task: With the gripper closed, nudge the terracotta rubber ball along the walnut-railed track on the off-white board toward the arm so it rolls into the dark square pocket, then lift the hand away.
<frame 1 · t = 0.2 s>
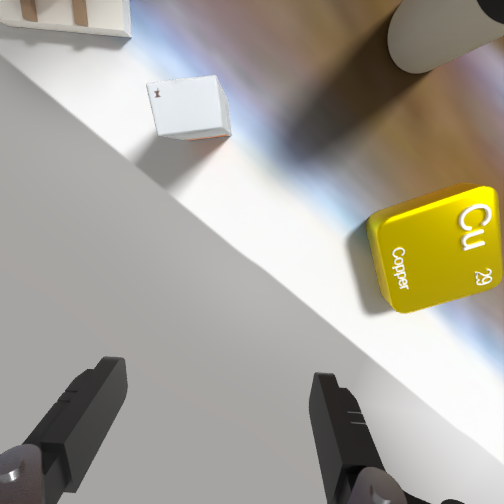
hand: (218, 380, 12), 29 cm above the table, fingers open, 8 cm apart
travel mug: (420, 34, 31), on the table
element tile: (422, 245, 40), on the table
skincare box: (208, 121, 35), on the table
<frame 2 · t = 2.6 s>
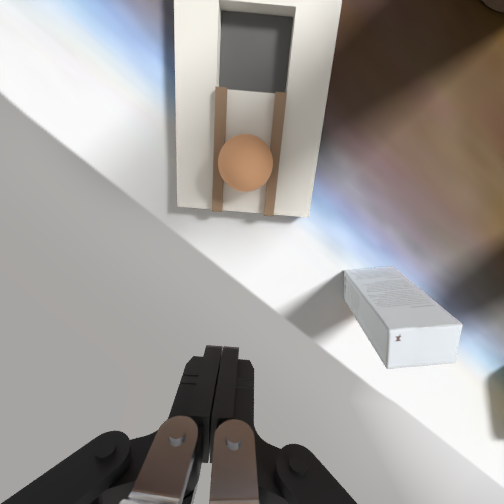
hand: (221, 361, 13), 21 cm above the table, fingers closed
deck: (250, 109, 27), on the table
skincare box: (367, 281, 34), on the table
ball: (245, 163, 25), point 4 cm above the table, touching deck
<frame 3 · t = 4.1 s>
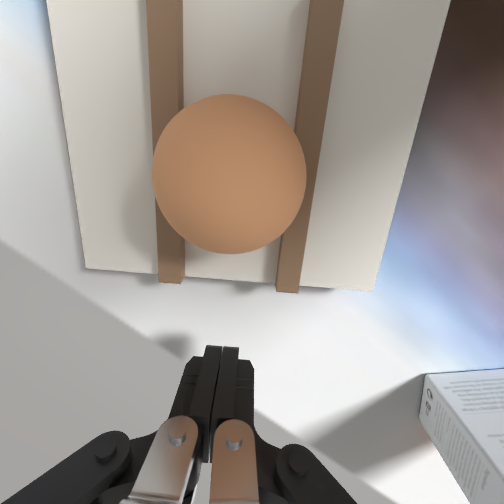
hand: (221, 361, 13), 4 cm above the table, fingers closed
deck: (246, 48, 12), on the table
skincare box: (464, 390, 18), on the table
ball: (230, 179, 9), point 4 cm above the table, touching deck
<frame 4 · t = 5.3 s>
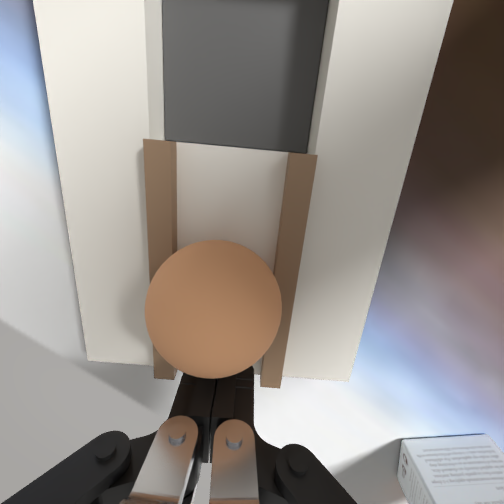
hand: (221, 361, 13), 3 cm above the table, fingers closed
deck: (234, 175, 13), on the table
skincare box: (438, 452, 20), on the table
ball: (215, 305, 10), point 4 cm above the table, tilted 13°, touching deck
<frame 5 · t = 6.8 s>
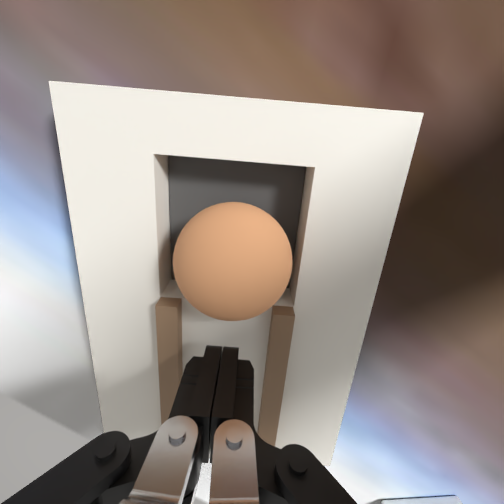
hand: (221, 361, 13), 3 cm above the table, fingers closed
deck: (229, 302, 15), on the table
ball: (233, 261, 12), point 3 cm above the table, tilted 145°, touching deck
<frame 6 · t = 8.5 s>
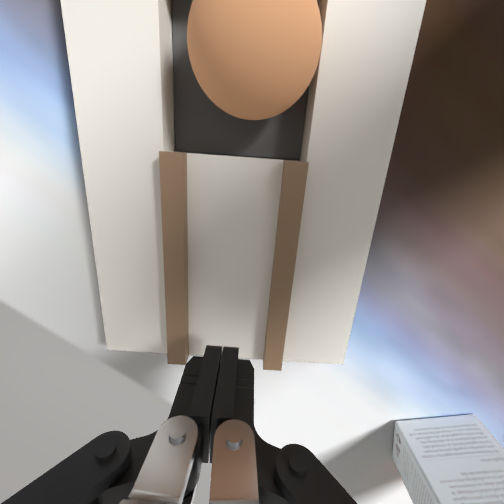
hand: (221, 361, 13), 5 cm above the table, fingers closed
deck: (236, 180, 15), on the table
skincare box: (430, 432, 21), on the table
ball: (254, 47, 10), point 3 cm above the table, tilted 109°, touching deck
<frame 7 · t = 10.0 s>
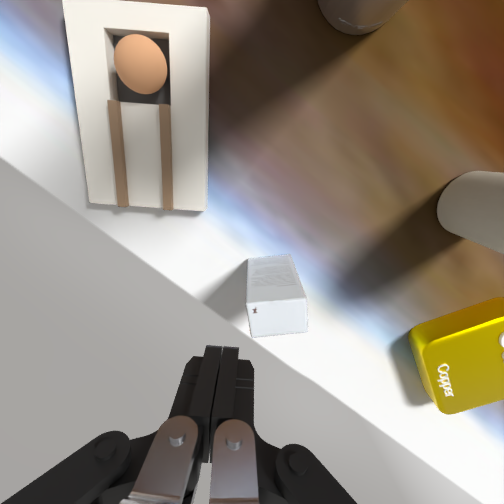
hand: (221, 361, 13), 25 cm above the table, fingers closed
travel mug: (466, 203, 35), on the table
element tile: (462, 346, 43), on the table
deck: (148, 118, 32), on the table
skincare box: (270, 268, 38), on the table
ball: (141, 65, 28), point 3 cm above the table, tilted 123°, touching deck
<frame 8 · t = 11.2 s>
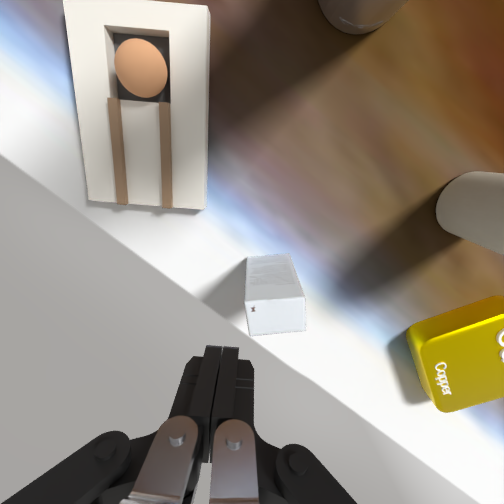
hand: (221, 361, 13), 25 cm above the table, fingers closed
travel mug: (465, 203, 35), on the table
element tile: (460, 345, 43), on the table
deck: (148, 116, 32), on the table
skincare box: (269, 267, 38), on the table
ball: (141, 69, 28), point 3 cm above the table, tilted 134°, touching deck
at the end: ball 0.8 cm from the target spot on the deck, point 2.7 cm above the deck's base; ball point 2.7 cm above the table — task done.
